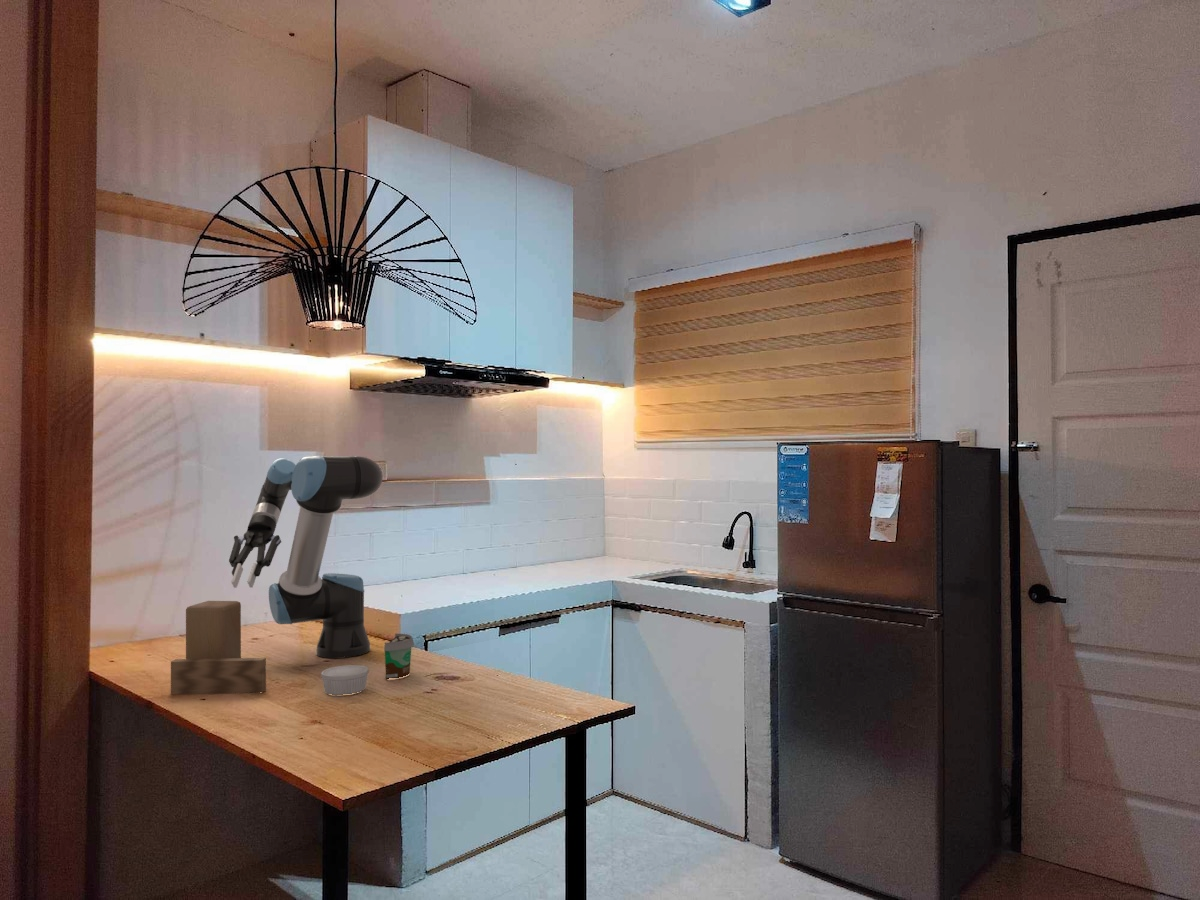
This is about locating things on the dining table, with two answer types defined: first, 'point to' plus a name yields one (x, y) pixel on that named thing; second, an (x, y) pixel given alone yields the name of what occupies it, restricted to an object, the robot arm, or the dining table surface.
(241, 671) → the board
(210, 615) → the block
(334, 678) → the ramekin
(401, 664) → the food container
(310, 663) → the dining table surface
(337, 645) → the robot arm
